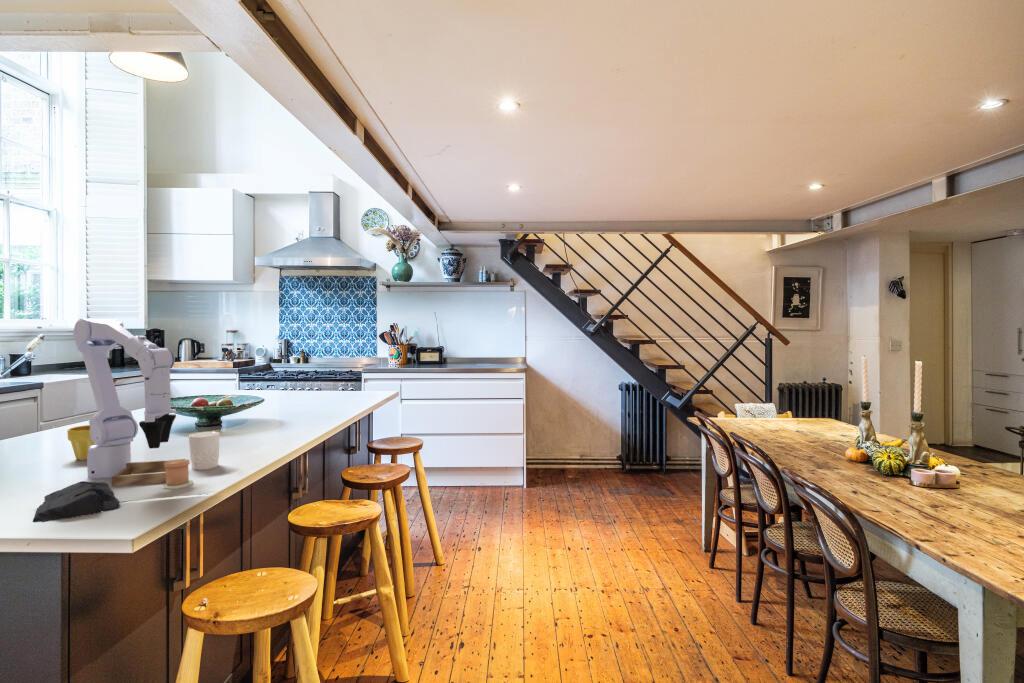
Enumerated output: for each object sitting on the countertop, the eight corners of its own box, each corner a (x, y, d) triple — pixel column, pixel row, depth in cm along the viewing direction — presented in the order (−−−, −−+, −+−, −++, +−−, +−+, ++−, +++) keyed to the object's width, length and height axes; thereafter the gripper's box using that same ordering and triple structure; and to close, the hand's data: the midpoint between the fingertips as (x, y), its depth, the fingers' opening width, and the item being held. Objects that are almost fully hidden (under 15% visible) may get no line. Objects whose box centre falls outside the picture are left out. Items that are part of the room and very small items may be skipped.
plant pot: (92, 461, 169) (92, 430, 169) (59, 462, 169) (58, 430, 169) (117, 454, 179) (116, 424, 179) (86, 454, 179) (85, 424, 179)
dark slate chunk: (117, 489, 142) (116, 470, 142) (120, 511, 124) (119, 490, 124) (39, 500, 132) (38, 481, 132) (30, 527, 115) (29, 504, 115)
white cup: (226, 465, 163) (225, 431, 163) (209, 472, 156) (208, 437, 155) (201, 464, 164) (200, 431, 164) (183, 471, 156) (182, 436, 156)
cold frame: (112, 488, 141) (111, 472, 141) (127, 477, 151) (127, 462, 151) (174, 483, 145) (174, 468, 145) (185, 472, 155) (185, 458, 155)
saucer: (156, 493, 136) (156, 489, 136) (165, 484, 144) (165, 480, 144) (191, 490, 139) (191, 486, 139) (198, 481, 146) (198, 478, 146)
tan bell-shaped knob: (162, 487, 138) (162, 465, 138) (166, 481, 143) (166, 460, 143) (188, 484, 140) (187, 463, 140) (191, 479, 145) (190, 458, 145)
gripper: (166, 396, 140) (168, 449, 140) (182, 390, 154) (183, 438, 154) (134, 397, 138) (136, 451, 138) (153, 391, 151) (154, 440, 152)
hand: (159, 445), depth 146 cm, fingers open, 7 cm apart
